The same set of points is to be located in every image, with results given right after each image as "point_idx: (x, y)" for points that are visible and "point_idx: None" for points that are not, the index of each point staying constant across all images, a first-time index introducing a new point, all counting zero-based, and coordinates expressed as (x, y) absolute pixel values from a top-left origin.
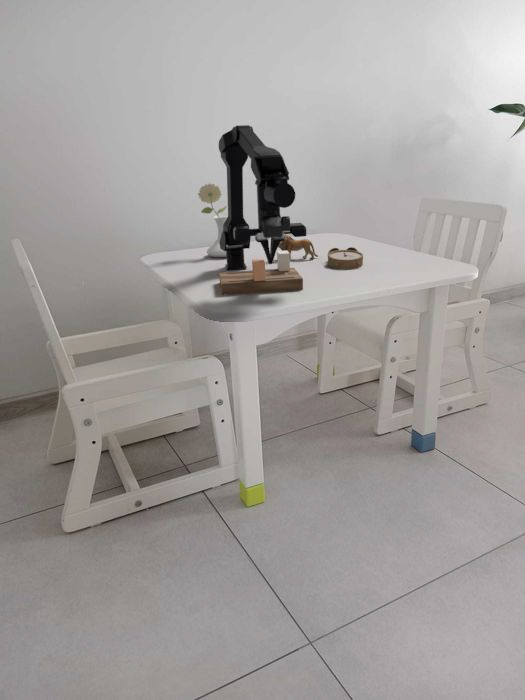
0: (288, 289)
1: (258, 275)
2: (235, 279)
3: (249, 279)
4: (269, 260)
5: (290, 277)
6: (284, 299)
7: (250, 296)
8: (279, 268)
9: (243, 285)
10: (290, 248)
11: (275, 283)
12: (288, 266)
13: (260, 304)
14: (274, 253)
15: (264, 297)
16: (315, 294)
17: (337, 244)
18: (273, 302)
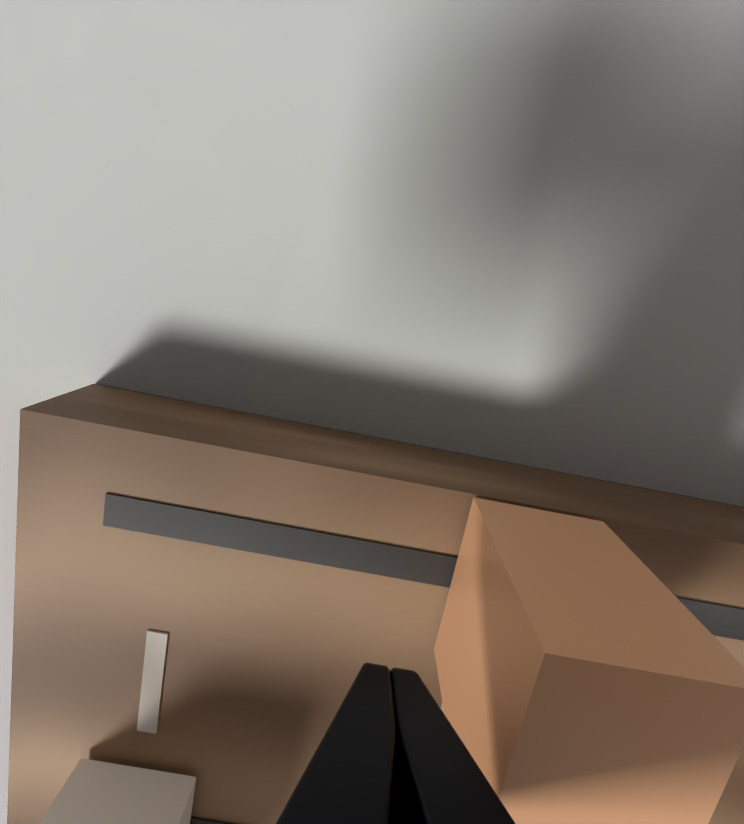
0: (234, 412)
1: (579, 544)
2: None
3: None
4: (421, 711)
5: (150, 511)
6: (377, 119)
7: (641, 376)
8: (184, 807)
9: (705, 525)
10: None
11: (358, 459)
12: (68, 806)
13: (672, 50)
14: (306, 817)
15: (534, 283)
16: (17, 154)
17: None
18: (522, 60)
